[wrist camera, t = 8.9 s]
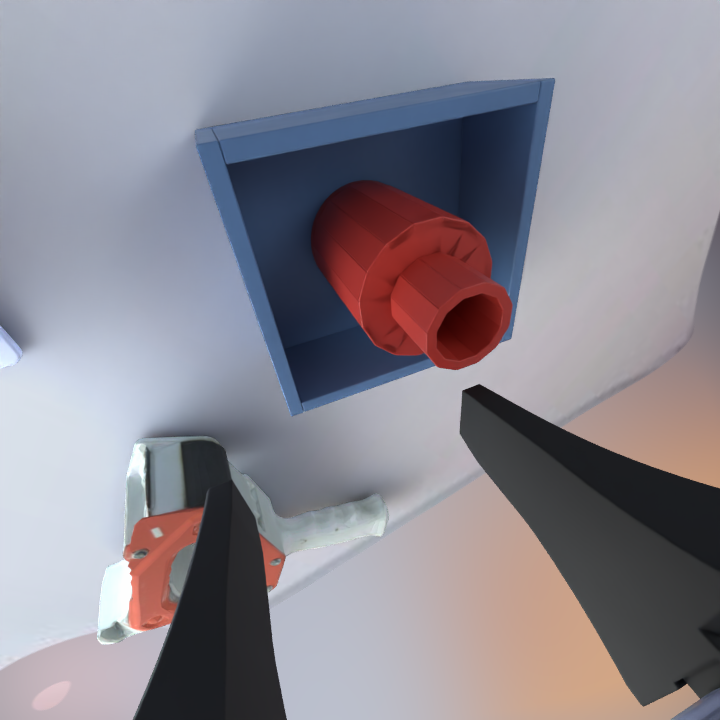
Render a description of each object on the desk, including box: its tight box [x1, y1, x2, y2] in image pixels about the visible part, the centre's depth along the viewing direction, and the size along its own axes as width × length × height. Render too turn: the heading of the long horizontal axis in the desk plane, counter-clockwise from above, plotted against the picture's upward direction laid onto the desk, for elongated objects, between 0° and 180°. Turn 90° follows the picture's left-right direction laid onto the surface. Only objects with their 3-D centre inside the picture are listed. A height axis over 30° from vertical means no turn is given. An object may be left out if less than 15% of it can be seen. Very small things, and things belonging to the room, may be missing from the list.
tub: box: [195, 78, 555, 416], centre depth 16 cm, size 12×11×5 cm
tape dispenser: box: [97, 436, 389, 644], centre depth 25 cm, size 18×5×20 cm
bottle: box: [311, 180, 513, 370], centre depth 14 cm, size 5×5×9 cm
